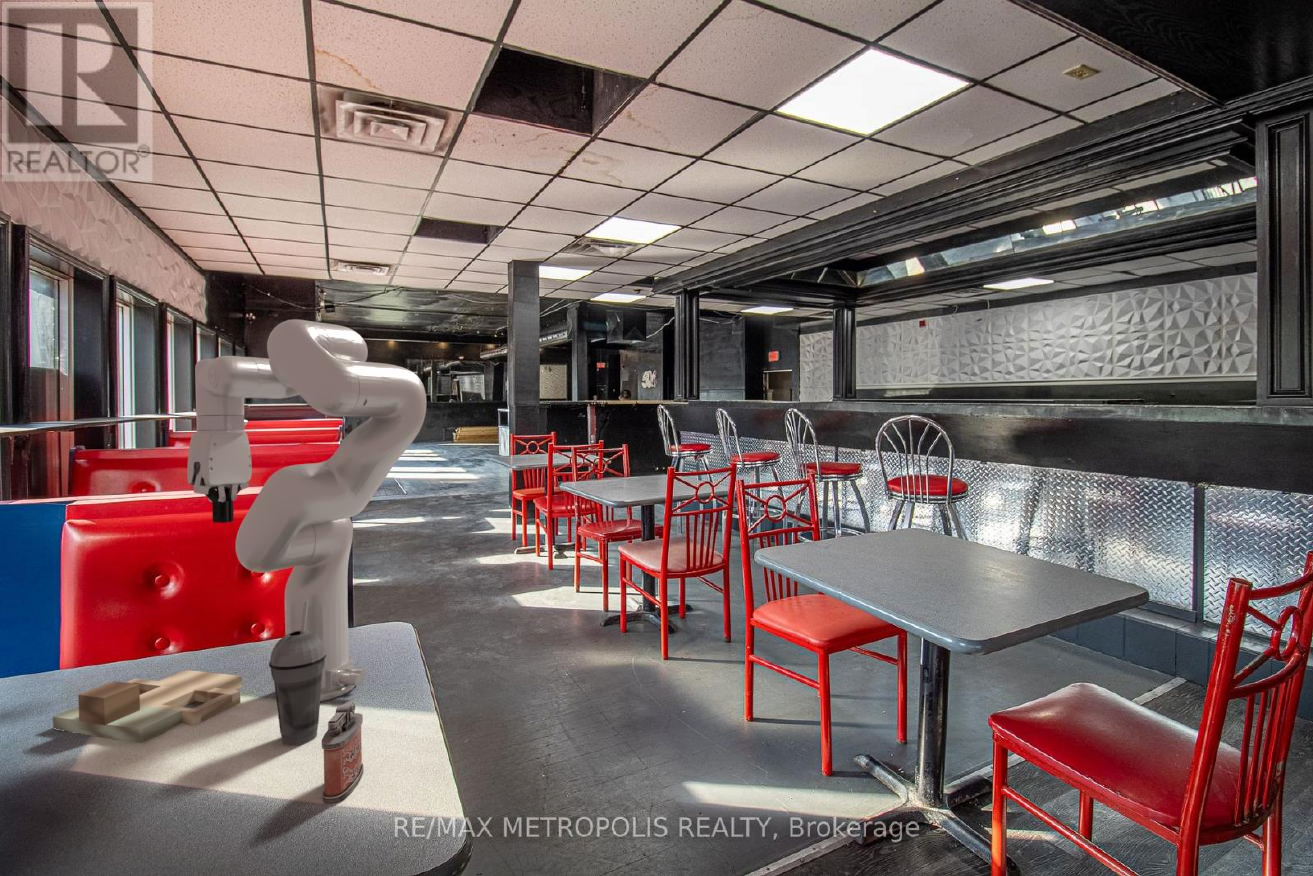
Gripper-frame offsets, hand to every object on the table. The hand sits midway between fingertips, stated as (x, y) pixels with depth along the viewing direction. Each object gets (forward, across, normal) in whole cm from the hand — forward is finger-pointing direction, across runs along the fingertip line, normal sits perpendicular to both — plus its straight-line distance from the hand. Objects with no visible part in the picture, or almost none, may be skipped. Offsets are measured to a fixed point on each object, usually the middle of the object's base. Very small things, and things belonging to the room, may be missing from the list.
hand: (223, 521), depth 122 cm
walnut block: (+25, +25, +6) cm, 36 cm away
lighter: (+27, +30, +51) cm, 65 cm away
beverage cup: (+27, +21, +36) cm, 50 cm away
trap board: (+27, +18, +6) cm, 33 cm away
